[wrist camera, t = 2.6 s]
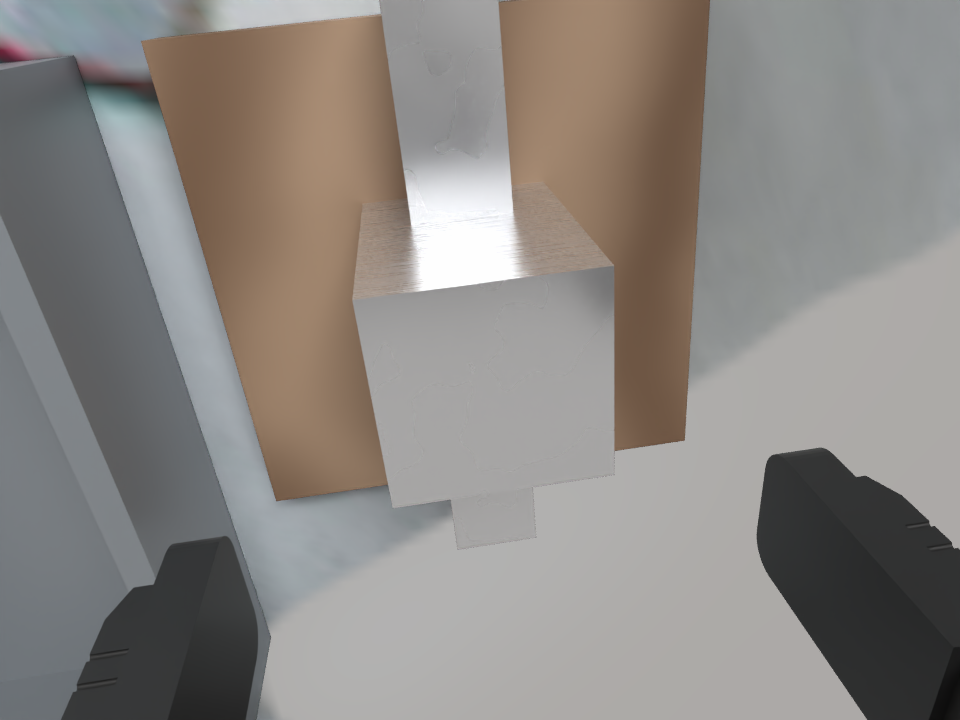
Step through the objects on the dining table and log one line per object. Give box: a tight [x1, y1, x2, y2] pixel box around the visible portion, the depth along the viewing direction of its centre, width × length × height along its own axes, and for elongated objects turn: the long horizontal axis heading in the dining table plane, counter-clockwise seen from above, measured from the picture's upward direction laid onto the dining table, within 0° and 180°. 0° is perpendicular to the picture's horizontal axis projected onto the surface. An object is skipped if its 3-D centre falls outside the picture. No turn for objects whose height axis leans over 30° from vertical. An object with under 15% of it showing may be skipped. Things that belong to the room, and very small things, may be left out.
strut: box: [352, 0, 614, 549], centre depth 17 cm, size 16×5×7 cm, turn 5°
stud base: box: [141, 0, 710, 501], centre depth 19 cm, size 14×14×6 cm
